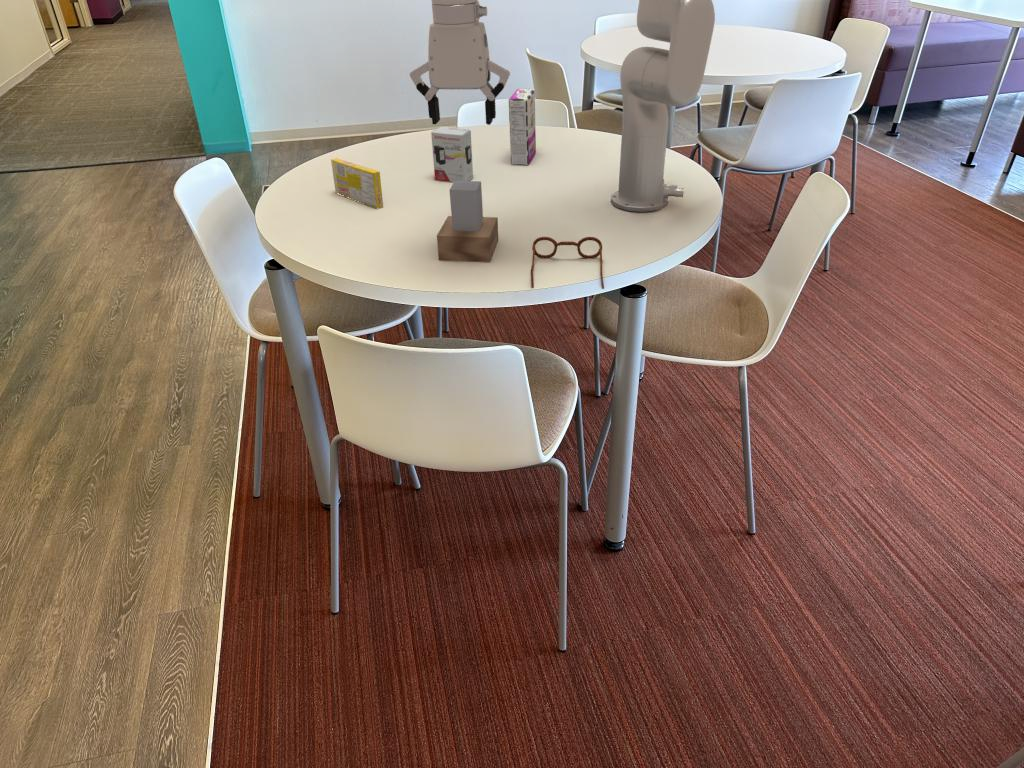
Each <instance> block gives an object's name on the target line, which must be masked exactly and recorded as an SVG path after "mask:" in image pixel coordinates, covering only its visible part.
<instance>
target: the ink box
mask: <svg viewBox="0 0 1024 768" xmlns="http://www.w3.org/2000/svg"><path fill="white" fill-rule="evenodd" d="M430 134H431V145H432V146H431V147H432V158H433V160H432V161H433V172H434V180H435V181H437V182H438V181H440V182H447V183H454V182H455V181H472V179H474V168H473V147H472V146H473V145H472V130H471V129H469V128H462V127H452V126H451V127H450V126H439V127H438V128H436V129H434V130H433V131H431V133H430Z"/></svg>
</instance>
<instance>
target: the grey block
mask: <svg viewBox="0 0 1024 768" xmlns="http://www.w3.org/2000/svg"><path fill="white" fill-rule="evenodd" d="M452 183H453V184H451V186H450V188H449V201H450V202H449V203H450V213H451V214H450V216H452V229H453V231H472V232H479V230H480V228H481V225H482V223H483V217H484V214H483V213H484V210H483V208H484V207H483V193H482V192H483V191H482V190H483V189H482V180H481V181H479V180H478V181H477V180H470V181H455V182H452Z"/></svg>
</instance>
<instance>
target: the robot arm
mask: <svg viewBox="0 0 1024 768" xmlns="http://www.w3.org/2000/svg"><path fill="white" fill-rule="evenodd" d="M431 10H432V12H431V13H432V21H433V22H432V23H431V24H429V30H428V31H429V32H428V46H427V47H428V55H427V57H428V61H427V62H425V63H424V64H422V65H420V66H418V67H417V68H416V69H414V70H413V71H411V72H409V77H410V79H411V80H412V82H413V84H414V85H415V88H416V90H417V91H418V92H419V93H420V94H421V95H422V96H423V97H424V99H425V100H426V101H427V107H428V117H429V119H431V122H432V125H437V124H438V123H439V122H440V120H441V112H440V104H439V103H440V102H439V97H438V96H437V93H438V92H439V90H480V91H481V92H482V94H483V95H484V96H485V97H486V100H485V102H484V107H485V124H486V125H487V126H491V124H492V122H493V120H494V119H496V116H497V111H496V99H497V97H498V96H499V95H500V93H502V91H504V89H505V87H506V84H507V82H508V79H509V78H510V76H511V72H510V71H509V70H508V69H506V68H505V67H502V66H500V65H498V64H497V63H496V62H494V61H492V60H491V59H490V51H489V42H488V37H487V30H486V26H485V23H484V22H482V21H480V19H481V17H486V16H488V7H487V6H483V5H481V4H480V2H479V0H431ZM715 14H716V13H715V7H714V2H713V1H712V0H638V7H637V13H636V27H637V30H638V32H639V33H640V34H641V35H642V36H643V37H645V38H648V39H650V40H654V41H659V42H665V43H669V49H665V48H660V47H659V48H658V47H654V46H641V47H638V48H636V49H635V48H634V49H633V50H632V51H630V52H629V53H628V54H627V55H626V57H625V58H624V60H623V62H622V64H621V67H620V75H619V78H620V79H619V80H620V89H621V97H622V126H621V127H622V128H621V129H622V130H621V142H620V157H619V159H620V161H619V173H618V175H619V176H618V190H616V191H615V192H613V193H612V194H611V197H610V203H611V204H612V205H613V206H614V207H616V208H618V209H621V210H624V211H630V212H635V213H636V212H637V213H639V212H642V213H643V212H644V213H645V212H654V211H659V210H661V209H663V208H665V207H667V206H668V204H669V197H674V198H684V191H685V190H684V187H678V185H675V184H674V185H673V184H672V185H668V184H666V183H665V178H664V173H665V164H666V163H665V162H666V152H667V141H668V132H669V111H668V106H670V107H675V108H676V107H685V106H687V105H689V104H691V102H692V101H693V100H694V99H695V98H696V97H697V95H698V93H699V92H700V89H701V86H702V83H703V81H704V80H703V79H704V76H705V75H704V74H705V72H706V66H707V61H708V58H709V53H710V47H711V44H712V43H711V42H712V38H713V34H714V33H713V32H714V30H715V29H714V27H715V21H716V19H715V18H716V17H715V16H716V15H715ZM427 72H428V79H429V84H430V87H429V86H428V85H427V84H426V83H425V82H424V81H423V78H422V75H424V74H425V73H427ZM491 73H492V74H495V75H497V76H498V77H499V79H498V82H497V84H496V85H495V87H493V85H492V84H491V83H490V81H491Z"/></svg>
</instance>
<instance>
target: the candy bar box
mask: <svg viewBox="0 0 1024 768" xmlns="http://www.w3.org/2000/svg"><path fill="white" fill-rule="evenodd" d="M535 92H536V89H535V88H517V89H516V90H515V91H514V92H513V94H512V95H511V96H510V97H509V99H508V112H509V113H508V117H509V139H510V140H509V142H510V146H509V147H510V164H511V166H530V164H531V162H532V160H533V158H534V157H535V155H536V153H537V147H536V145H537V140H536V133H537V132H536V96H535V95H536V94H535Z"/></svg>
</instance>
